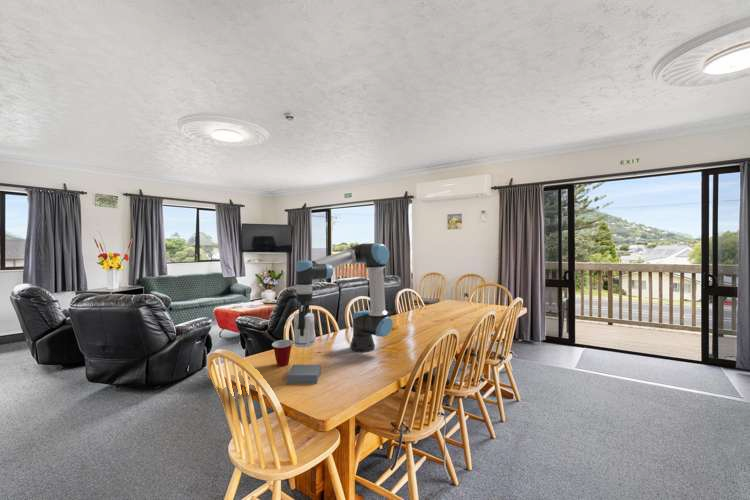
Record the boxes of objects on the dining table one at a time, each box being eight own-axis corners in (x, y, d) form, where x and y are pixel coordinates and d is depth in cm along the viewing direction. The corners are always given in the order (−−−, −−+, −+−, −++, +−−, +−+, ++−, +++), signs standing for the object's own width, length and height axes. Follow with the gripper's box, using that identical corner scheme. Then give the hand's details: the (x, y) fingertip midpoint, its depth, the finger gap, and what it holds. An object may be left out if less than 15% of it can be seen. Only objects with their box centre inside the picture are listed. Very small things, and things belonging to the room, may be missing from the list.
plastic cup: (267, 367, 180) (267, 344, 179) (279, 360, 190) (279, 338, 190) (285, 369, 176) (285, 346, 176) (296, 362, 186) (296, 340, 186)
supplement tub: (308, 341, 172) (308, 311, 171) (318, 345, 164) (318, 314, 164) (290, 344, 165) (290, 314, 165) (299, 349, 158) (299, 317, 158)
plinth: (321, 372, 172) (321, 364, 172) (316, 383, 158) (316, 375, 158) (293, 372, 172) (293, 364, 172) (286, 383, 158) (286, 375, 158)
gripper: (300, 289, 175) (301, 333, 176) (291, 296, 153) (291, 346, 154) (315, 289, 176) (315, 333, 176) (308, 296, 153) (308, 346, 154)
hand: (304, 339), depth 165 cm, fingers closed on supplement tub, 9 cm apart
